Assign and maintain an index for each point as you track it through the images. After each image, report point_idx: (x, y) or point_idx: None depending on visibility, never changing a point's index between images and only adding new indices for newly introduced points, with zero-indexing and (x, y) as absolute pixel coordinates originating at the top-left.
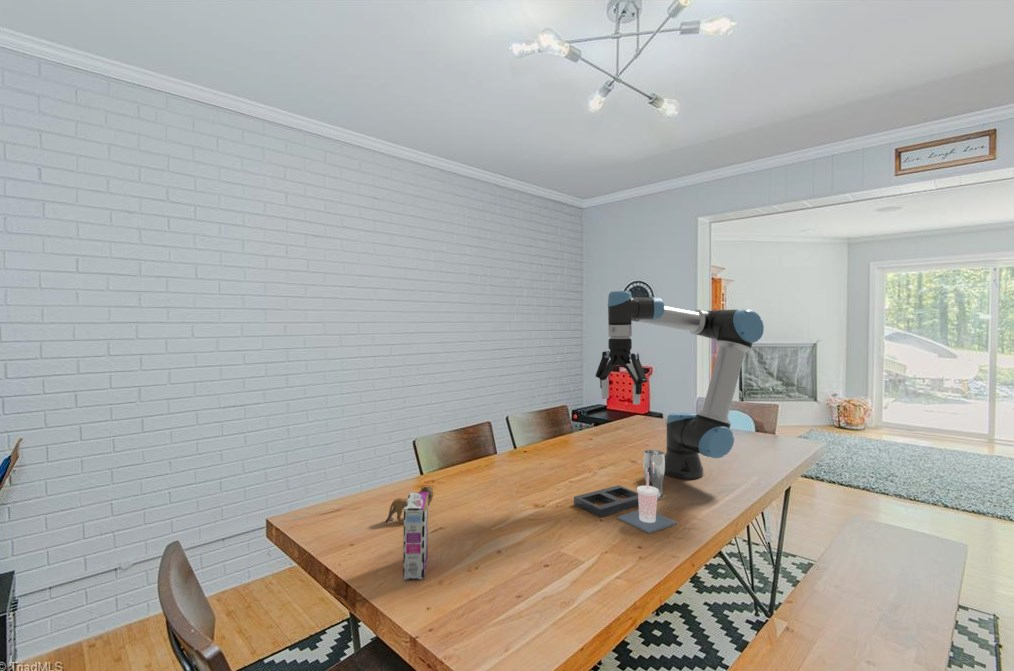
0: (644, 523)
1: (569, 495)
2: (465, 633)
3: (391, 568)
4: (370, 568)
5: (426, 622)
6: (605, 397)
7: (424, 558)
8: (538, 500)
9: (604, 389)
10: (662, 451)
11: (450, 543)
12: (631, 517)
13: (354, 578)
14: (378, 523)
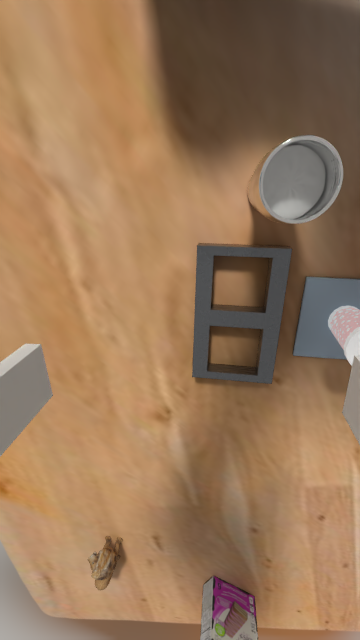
0: None
1: (152, 344)
2: (352, 612)
3: None
4: None
5: (315, 619)
6: (42, 380)
7: (253, 619)
8: (142, 401)
9: (2, 435)
10: (319, 140)
11: (200, 550)
12: (315, 338)
13: None
14: None
